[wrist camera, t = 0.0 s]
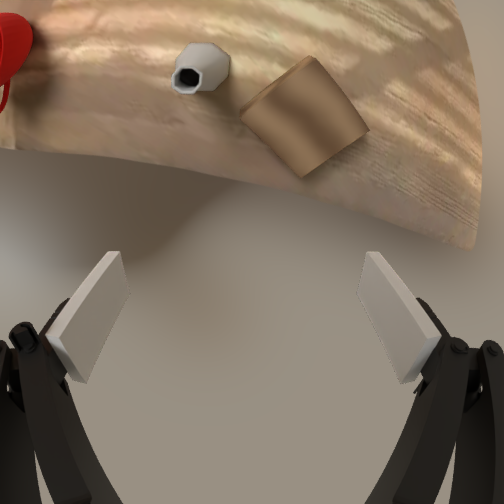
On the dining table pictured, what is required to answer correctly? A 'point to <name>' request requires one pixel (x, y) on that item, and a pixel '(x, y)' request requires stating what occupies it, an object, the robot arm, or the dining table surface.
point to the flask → (200, 68)
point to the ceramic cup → (12, 48)
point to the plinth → (304, 117)
